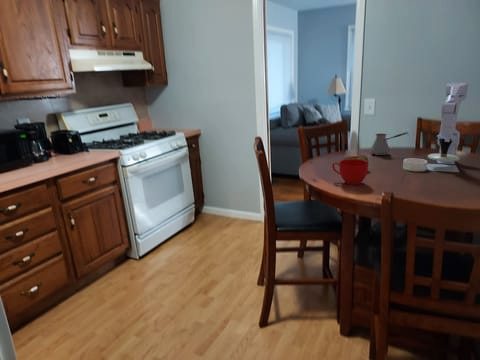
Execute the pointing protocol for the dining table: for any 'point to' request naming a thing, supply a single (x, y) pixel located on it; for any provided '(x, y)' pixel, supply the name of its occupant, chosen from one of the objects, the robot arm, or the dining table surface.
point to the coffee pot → (382, 144)
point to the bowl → (414, 164)
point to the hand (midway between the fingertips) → (443, 153)
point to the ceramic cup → (352, 170)
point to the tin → (357, 157)
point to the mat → (442, 167)
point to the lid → (443, 157)
